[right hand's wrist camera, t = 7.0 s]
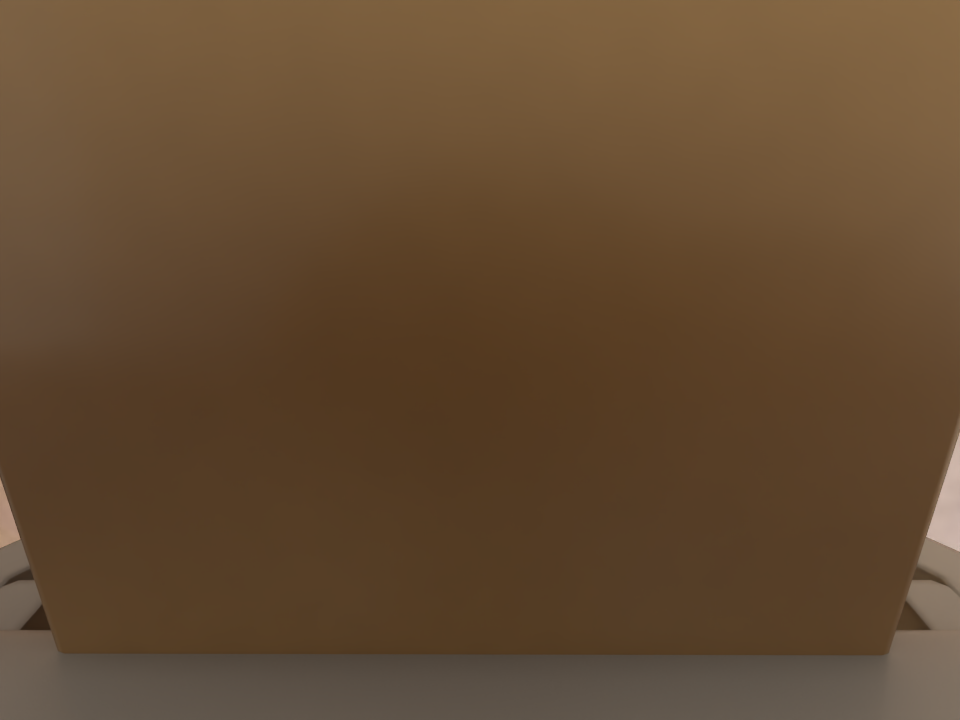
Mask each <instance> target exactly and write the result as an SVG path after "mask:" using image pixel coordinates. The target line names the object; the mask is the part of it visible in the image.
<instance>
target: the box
mask: <svg viewBox="0 0 960 720" xmlns="http://www.w3.org/2000/svg"><path fill="white" fill-rule="evenodd" d="M959 432H960V0H0V478H1V481H2V484H3V487H4V490H5V493H6V496H7V499H8V502H9V505H10V508H11V511H12V514H13V517H14V520H15V523H16V526H17V529H18V532H19V535H20V538H21V541H22V544H23V547H24V550H25V553H26V556H27V559H28V562H29V565H30V568H31V571H32V574H33V578H34V581H35V584H36V587H37V590H38V593H39V596H40V599H41V602H42V605H43V608H44V611H45V614H46V617H47V620H48V623H49V626H50V629H51V632H52V635H53V638H54V641H55V644H56V647H57V650H58V651H59V652H61V653H64V654H479V655H885V654H887V653H889V650H890V647H891V644H892V641H893V638H894V635H895V632H896V629H897V625H898V622H899V619H900V616H901V613H902V610H903V607H904V604H905V601H906V597H907V594H908V591H909V588H910V585H911V582H912V579H913V576H914V573H915V569H916V566H917V563H918V560H919V557H920V554H921V551H922V548H923V544H924V541H925V538H926V535H927V532H928V529H929V526H930V523H931V520H932V516H933V513H934V510H935V507H936V504H937V501H938V498H939V495H940V491H941V488H942V485H943V482H944V479H945V476H946V473H947V470H948V467H949V463H950V460H951V457H952V454H953V451H954V448H955V445H956V442H957V439H958V435H959Z"/></svg>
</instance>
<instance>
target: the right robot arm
mask: <svg viewBox="0 0 960 720" xmlns="http://www.w3.org/2000/svg"><path fill="white" fill-rule="evenodd" d="M0 720H960V552H959V551H956V550H954V549H952V548H950V547H947V546H945V545H943V544H941V543H938V542H936V541H934V540H932V539H929V538H927V537H926V538H925V541H924V544H923V548H922V551H921V554H920V557H919V560H918V563H917V566H916V569H915V573H914V576H913V579H912V582H911V585H910V588H909V591H908V594H907V597H906V601H905V604H904V607H903V610H902V613H901V616H900V619H899V622H898V625H897V629H896V632H895V635H894V638H893V641H892V644H891V647H890V650H889V653H887V654H885V655H479V654H64V653H61V652H59V651H58V650H57V647H56V644H55V641H54V638H53V635H52V632H51V629H50V626H49V623H48V620H47V617H46V614H45V611H44V608H43V605H42V602H41V599H40V596H39V593H38V590H37V587H36V584H35V581H34V578H33V574H32V571H31V568H30V565H29V562H28V559H27V556H26V553H25V550H24V547H23V544H22V541H21V539H20V540H18V541H16V542H13V543H11V544H9V545H7V546H4V547H2V548H0Z"/></svg>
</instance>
